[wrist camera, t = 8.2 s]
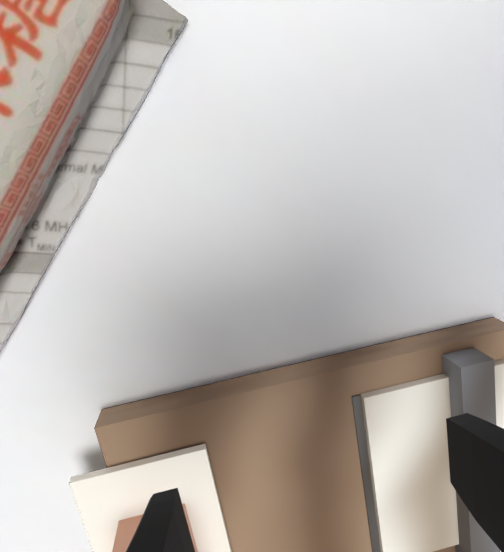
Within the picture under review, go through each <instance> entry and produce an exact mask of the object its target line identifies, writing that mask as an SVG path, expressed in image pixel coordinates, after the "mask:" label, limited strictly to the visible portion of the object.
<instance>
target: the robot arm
mask: <svg viewBox="0 0 504 552" xmlns="http://www.w3.org/2000/svg"><path fill="white" fill-rule="evenodd" d="M446 424H447V439H448V454H449V469H450V482H451V484H452V485H453V487H454V489H455V490H456V492H457V493H458V495H459V496H460V498H461V499H462V501H463V503H464V504H465V505H466V507H467V508H468V510H469V511H470V513H471V514H472V516H473V517H474V519H475V520H476V521H477V523H478V524H479V525H480V526H481V527H482V529H483V530H484V531H485V532H486V534H487V535H488V536H489V537H490V538H491V540H492V541H493V542H494V543H495V544H496V546H497V547H498V548H499V549H500V550H501V552H504V429H503V428H501V427H499V426H497V425H494V424H492V423H490V422H488V421H486V420H483V419H481V418H479V417H476V416H474V415H471V414H469V413H465V414H462V415H458V416H454V417H450V418H446ZM126 552H195V549H194V546H193V542H192V538H191V535H190V531H189V527H188V524H187V520H186V516H185V513H184V509H183V506H182V502H181V498H180V495H179V491H178V488H174V489H170V490H166V491H163V492H159V493H155V494H153V495H152V497H151V498H150V500H149V502H148V505H147V507H146V509H145V511H144V514H143V516H142V518H141V520H140V523H139V525H138V527H137V529H136V531H135V533H134V536H133V538H132V540H131V542H130V544H129V546H128V548H127V550H126Z"/></svg>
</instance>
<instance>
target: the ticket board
mask: <svg viewBox="0 0 504 552" xmlns="http://www.w3.org/2000/svg"><path fill="white" fill-rule="evenodd" d="M465 413H469V414H471V415H474V416H476V417H479V418H481V419H483V420H486V421H488V422H490V423H492V424H494V425H497V426H499V427H501V428H503V429H504V322H503V321H500V320H498V319H496V318H494V317H492V318H488V319H483V320H479V321H475V322H471V323H466V324H462V325H458V326H454V327H449V328H445V329H441V330H437V331H433V332H428V333H424V334H420V335H416V336H411V337H407V338H403V339H399V340H394V341H390V342H386V343H382V344H377V345H373V346H369V347H365V348H360V349H356V350H352V351H348V352H343V353H339V354H335V355H331V356H326V357H322V358H318V359H314V360H309V361H305V362H301V363H297V364H293V365H288V366H284V367H280V368H276V369H271V370H267V371H263V372H259V373H254V374H250V375H246V376H242V377H237V378H233V379H229V380H225V381H220V382H216V383H212V384H208V385H203V386H199V387H195V388H191V389H186V390H182V391H178V392H174V393H169V394H165V395H161V396H157V397H153V398H148V399H144V400H140V401H136V402H131V403H127V404H123V405H119V406H114V407H110V408H106V409H102V410H101V413H100V415H99V418H98V420H97V423H96V425H95V428H94V429H95V432H96V435H97V438H98V441H99V444H100V447H101V451H102V454H103V457H104V460H105V463H106V466H107V468H109V467H113V466H117V465H121V464H125V463H129V462H133V461H137V460H141V459H145V458H149V457H153V456H157V455H161V454H165V453H169V452H173V451H177V450H181V449H185V448H189V447H193V446H197V445H201V444H206V448H207V452H208V456H209V460H210V464H211V468H212V473H213V477H214V481H215V485H216V489H217V493H218V497H219V501H220V505H221V509H222V513H223V517H224V522H225V526H226V530H227V534H228V538H229V542H230V546H231V550H232V552H500V549H499V548H498V547H497V546H496V544H495V543H494V542H493V541H492V540H491V538H490V537H489V536H488V535H487V534H486V532H485V531H484V530H483V529H482V527H481V526H480V525H479V524H478V523H477V521H476V520H475V519H474V517H473V516H472V514H471V513H470V511H469V510H468V508H467V507H466V505H465V504H464V503H463V501H462V499H461V498H460V496H459V495H458V493H457V492H456V490H455V489H454V487H453V485H452V484H451V482H450V469H449V454H448V439H447V424H446V418H450V417H454V416H458V415H462V414H465Z"/></svg>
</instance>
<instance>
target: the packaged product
mask: <svg viewBox="0 0 504 552" xmlns="http://www.w3.org/2000/svg"><path fill="white" fill-rule="evenodd" d="M187 22H188V20H187V18H186V17H185V16H183V15H182V14H180V13H178V12H177V11H176V10H174V9H173V8H172V7H171V6H169V5H168V4H167V3H166V2H164V1H163V0H0V351H1V349H2V348H3V346H4V344H5V343H6V341H7V339H8V338H9V336H10V334H11V333H12V331H13V330H14V328H15V326H16V325H17V323H18V321H19V320H20V318H21V316H22V314H23V312H24V309H25V307H26V305H27V303H28V301H29V299H30V297H31V295H32V293H33V291H34V289H35V288H36V286H37V284H38V282H39V281H40V279H41V277H42V275H43V274H44V272H45V270H46V268H47V267H48V265H49V263H50V261H51V260H52V258H53V256H54V254H55V253H56V251H57V249H58V247H59V246H60V244H61V242H62V240H63V239H64V237H65V235H66V233H67V231H68V229H69V228H70V226H71V224H72V222H73V221H74V219H75V218H76V216H77V215H78V213H79V212H80V210H81V209H82V207H83V206H84V204H85V203H86V201H87V200H88V199H89V197H90V196H91V194H92V192H93V190H94V188H95V187H96V185H97V182H98V179H99V178H100V177H101V176H102V174H103V172H104V170H105V168H106V166H107V163H108V161H109V159H110V156H111V154H112V152H113V149H114V148H115V147H116V145H117V144H118V142H119V141H120V139H121V138H122V136H123V134H124V133H125V131H126V129H127V128H128V126H129V124H130V123H131V121H132V120H133V118H134V116H135V115H136V113H137V111H138V110H139V108H140V106H141V105H142V103H143V101H144V100H145V98H146V96H147V94H148V92H149V90H150V88H151V86H152V84H153V82H154V80H155V78H156V76H157V74H158V72H159V70H160V68H161V66H162V64H163V62H164V60H165V58H166V56H167V54H168V51H169V49H170V48H171V46H172V45H173V43H174V42H175V40H176V39H177V37H178V36H179V34H180V32H181V31H182V29H183V28H184V26H185V25H186V23H187Z"/></svg>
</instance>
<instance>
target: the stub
mask: <svg viewBox="0 0 504 552" xmlns="http://www.w3.org/2000/svg"><path fill="white" fill-rule="evenodd" d="M69 485H70V488H71V491H72V494H73V497H74V499H75V502H76V505H77V508H78V511H79V513H80V516H81V519H82V522H83V525H84V528H85V530H86V533H87V536H88V539H89V542H90V544H91V547H92V550H93V552H126V550H127V548H128V546H129V544H130V542H131V540H132V538H133V536H134V533H135V531H136V529H137V527H138V525H139V523H140V520H141V518H142V516H143V514H144V511H145V509H146V507H147V505H148V502H149V500H150V498H151V497H152V495H153V494H155V493H159V492H163V491H166V490H170V489H174V488H178V491H179V495H180V498H181V502H182V506H183V509H184V513H185V516H186V520H187V524H188V527H189V531H190V535H191V538H192V542H193V546H194V549H195V552H232V550H231V546H230V542H229V538H228V534H227V530H226V526H225V522H224V517H223V513H222V509H221V505H220V501H219V497H218V493H217V489H216V485H215V481H214V477H213V473H212V468H211V464H210V460H209V456H208V452H207V448H206V444H201V445H197V446H193V447H189V448H185V449H181V450H177V451H173V452H169V453H165V454H161V455H157V456H153V457H149V458H145V459H141V460H137V461H133V462H129V463H125V464H121V465H117V466H113V467H109V468H105V469H101V470H97V471H93V472H89V473H85V474H81V475H77V476H73V477H71V479H70V482H69Z"/></svg>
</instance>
